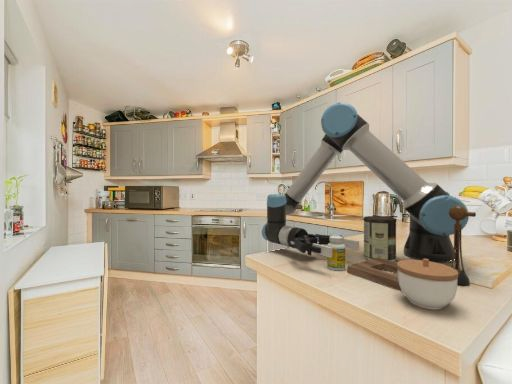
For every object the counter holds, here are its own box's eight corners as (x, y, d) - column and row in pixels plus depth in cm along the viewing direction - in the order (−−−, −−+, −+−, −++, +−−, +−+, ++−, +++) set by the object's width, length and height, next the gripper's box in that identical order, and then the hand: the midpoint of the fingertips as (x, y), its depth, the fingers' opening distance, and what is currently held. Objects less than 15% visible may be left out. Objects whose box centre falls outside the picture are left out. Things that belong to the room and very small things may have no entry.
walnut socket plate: (377, 263, 79) (377, 257, 79) (430, 278, 66) (430, 271, 66) (347, 272, 71) (347, 265, 71) (400, 290, 58) (400, 282, 58)
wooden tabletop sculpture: (478, 285, 61) (479, 206, 60) (468, 289, 59) (469, 206, 58) (451, 278, 66) (452, 204, 66) (441, 280, 64) (442, 205, 64)
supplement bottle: (334, 264, 79) (334, 234, 78) (349, 268, 74) (349, 237, 74) (323, 267, 76) (323, 236, 75) (337, 272, 71) (337, 239, 71)
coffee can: (386, 254, 90) (386, 216, 90) (402, 262, 80) (403, 219, 80) (358, 254, 90) (358, 216, 90) (371, 262, 80) (371, 219, 80)
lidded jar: (387, 300, 53) (387, 257, 53) (409, 288, 60) (409, 250, 59) (446, 322, 45) (447, 271, 44) (465, 305, 51) (466, 260, 51)
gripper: (316, 242, 97) (367, 254, 80) (267, 253, 82) (318, 270, 65) (316, 224, 97) (367, 231, 80) (267, 230, 82) (318, 241, 65)
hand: (345, 248), depth 72 cm, fingers open, 13 cm apart
